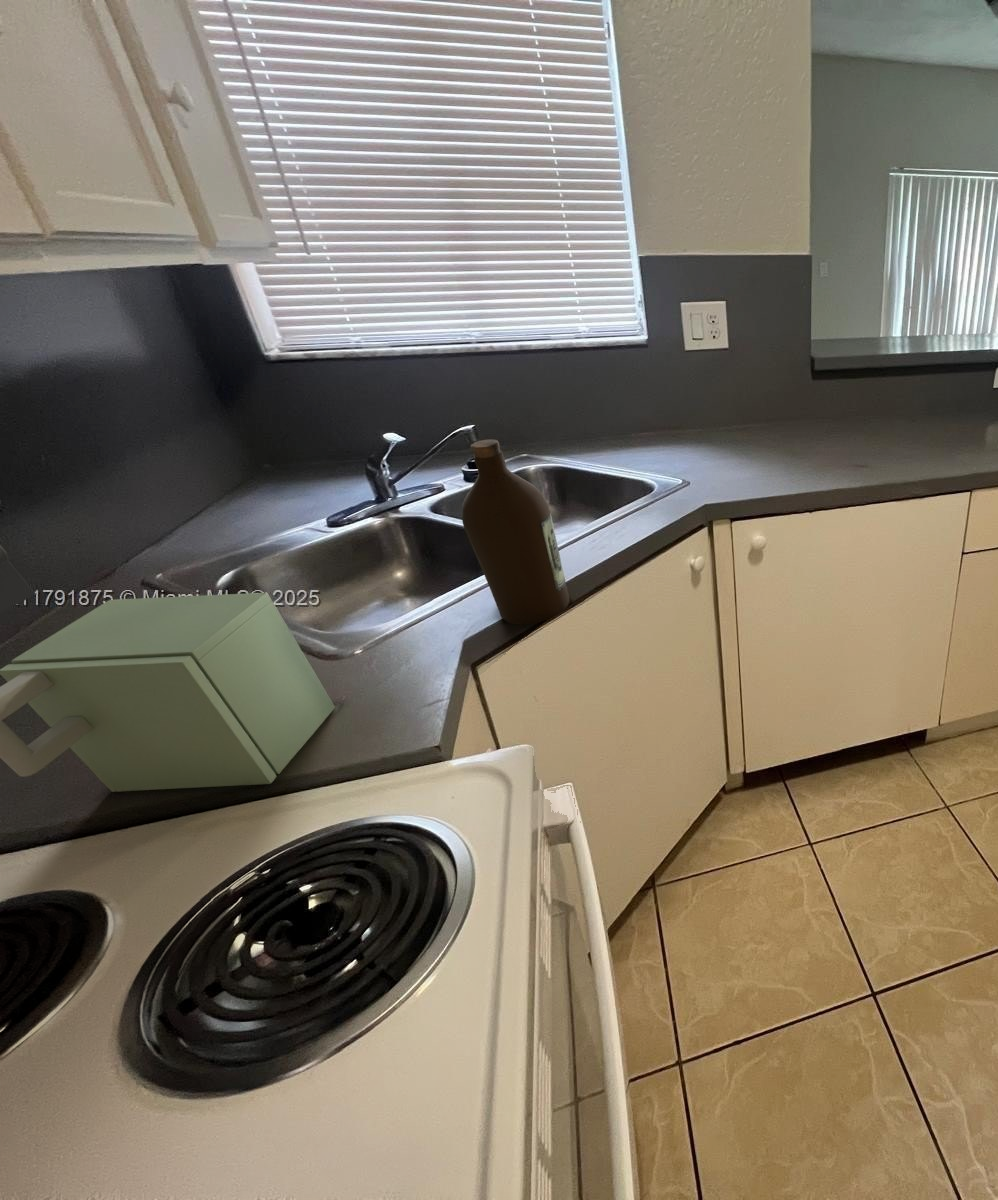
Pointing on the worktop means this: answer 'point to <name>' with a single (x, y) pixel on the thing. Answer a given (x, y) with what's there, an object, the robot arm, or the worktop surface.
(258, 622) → the cupboard
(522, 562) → the olive oil
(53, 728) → the cupboard door
